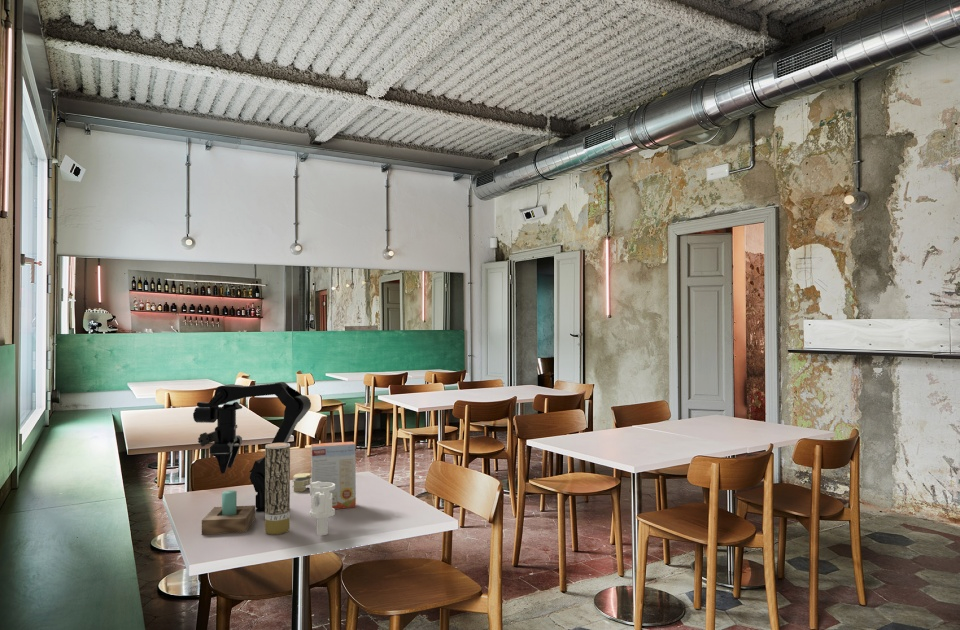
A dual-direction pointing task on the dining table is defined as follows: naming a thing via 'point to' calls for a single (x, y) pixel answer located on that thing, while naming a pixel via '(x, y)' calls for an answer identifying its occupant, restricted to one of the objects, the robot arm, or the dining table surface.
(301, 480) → the stacked layers on plate
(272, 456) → the paper tube
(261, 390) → the robot arm
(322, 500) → the white plastic upright piece
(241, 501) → the dining table surface
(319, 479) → the cracker box
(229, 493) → the peg
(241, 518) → the socket block
